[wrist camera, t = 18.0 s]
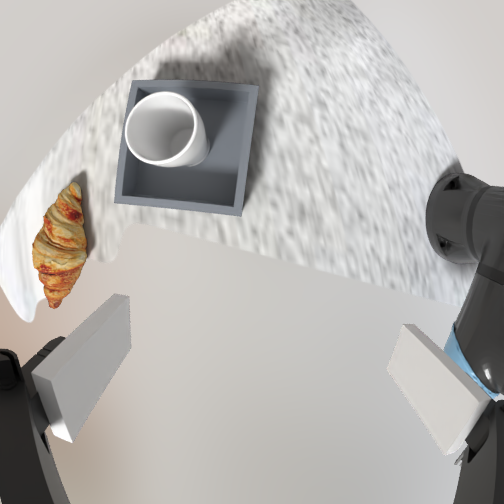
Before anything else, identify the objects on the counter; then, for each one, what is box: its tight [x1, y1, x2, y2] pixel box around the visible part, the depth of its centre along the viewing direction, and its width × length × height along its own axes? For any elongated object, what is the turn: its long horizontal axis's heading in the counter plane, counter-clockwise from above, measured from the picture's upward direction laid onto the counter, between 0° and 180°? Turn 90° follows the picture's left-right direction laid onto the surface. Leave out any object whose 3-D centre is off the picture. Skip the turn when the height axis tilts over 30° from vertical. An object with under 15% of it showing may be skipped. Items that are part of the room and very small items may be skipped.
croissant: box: [32, 182, 87, 309], centre depth 38 cm, size 21×10×8 cm, turn 161°
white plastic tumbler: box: [125, 91, 210, 167], centre depth 30 cm, size 7×7×15 cm
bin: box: [114, 80, 259, 216], centre depth 35 cm, size 16×16×6 cm
